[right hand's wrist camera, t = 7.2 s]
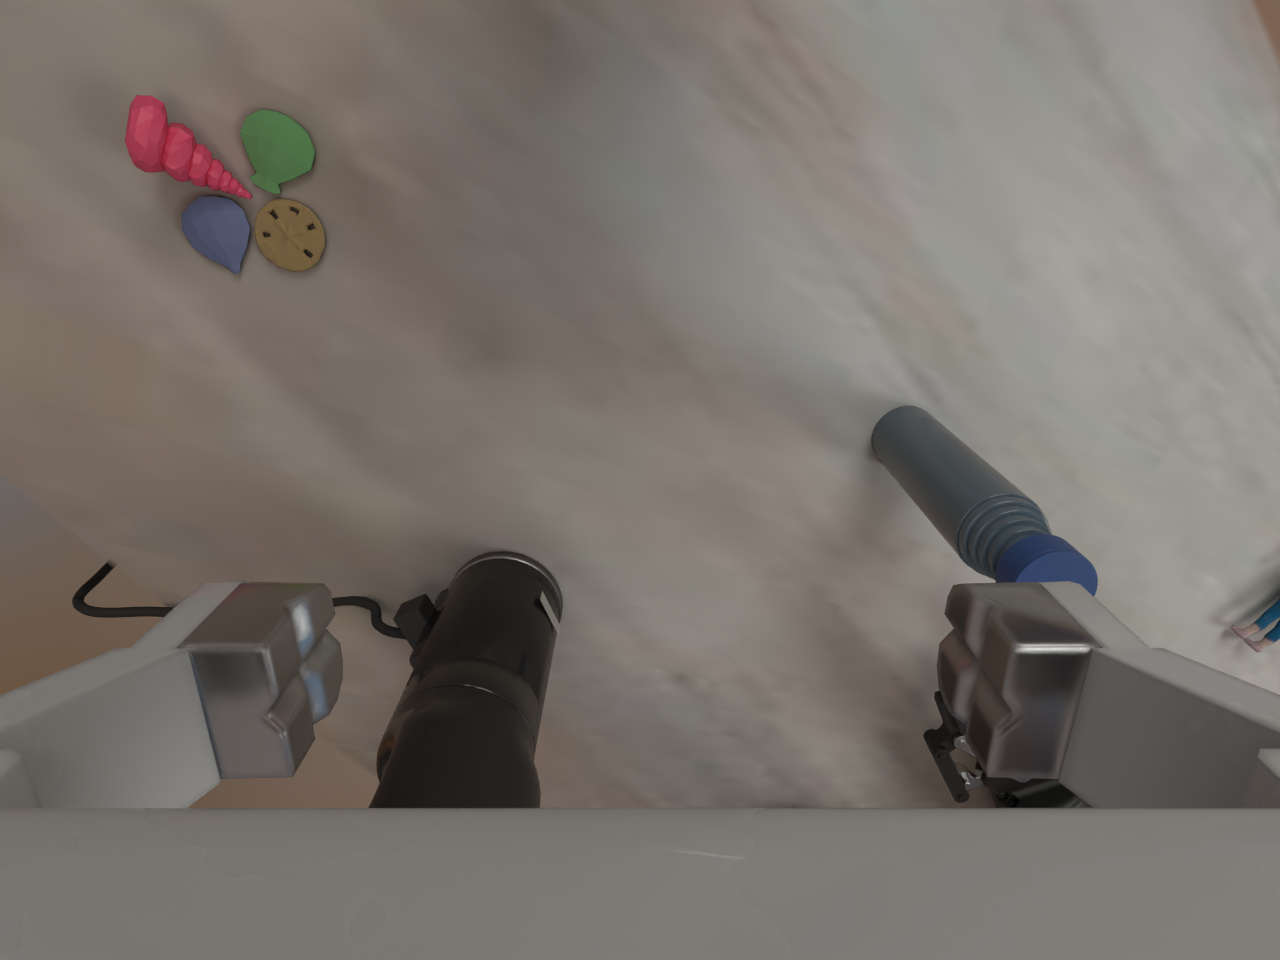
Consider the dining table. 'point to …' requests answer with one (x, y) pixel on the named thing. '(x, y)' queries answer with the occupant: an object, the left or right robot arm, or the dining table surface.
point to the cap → (1045, 563)
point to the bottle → (956, 488)
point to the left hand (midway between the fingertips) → (1000, 669)
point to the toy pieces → (233, 184)
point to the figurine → (1272, 636)
